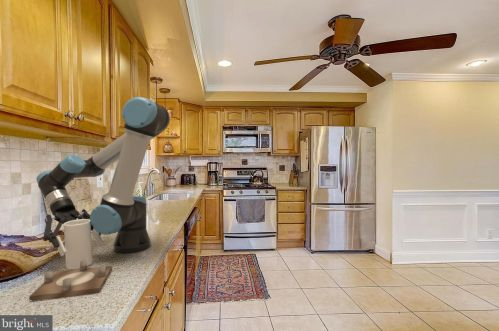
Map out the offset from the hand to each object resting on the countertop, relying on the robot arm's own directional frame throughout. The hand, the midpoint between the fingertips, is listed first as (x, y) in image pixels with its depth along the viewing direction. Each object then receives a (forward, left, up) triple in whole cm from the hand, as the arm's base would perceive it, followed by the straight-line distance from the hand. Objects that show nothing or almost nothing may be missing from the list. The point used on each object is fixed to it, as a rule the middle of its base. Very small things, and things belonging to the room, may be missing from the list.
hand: (83, 248), depth 96 cm
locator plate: (-2, +15, -6) cm, 17 cm away
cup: (+2, -2, -6) cm, 7 cm away
